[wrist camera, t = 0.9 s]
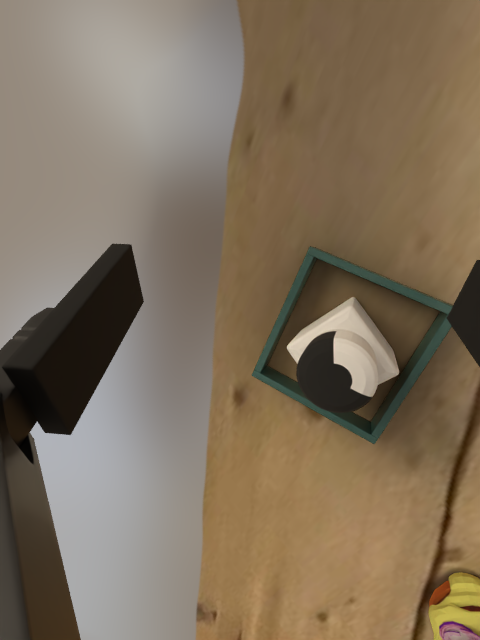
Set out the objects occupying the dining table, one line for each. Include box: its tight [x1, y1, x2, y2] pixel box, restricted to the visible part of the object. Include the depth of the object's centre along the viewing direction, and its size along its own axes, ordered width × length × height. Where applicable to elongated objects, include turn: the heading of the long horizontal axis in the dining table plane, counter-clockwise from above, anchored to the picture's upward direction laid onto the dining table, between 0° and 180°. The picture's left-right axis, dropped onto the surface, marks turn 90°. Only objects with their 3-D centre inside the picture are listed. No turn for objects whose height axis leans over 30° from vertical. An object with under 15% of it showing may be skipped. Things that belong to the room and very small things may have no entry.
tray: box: [252, 246, 453, 444], centre depth 34 cm, size 16×15×3 cm
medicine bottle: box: [287, 297, 399, 413], centre depth 29 cm, size 7×7×12 cm
